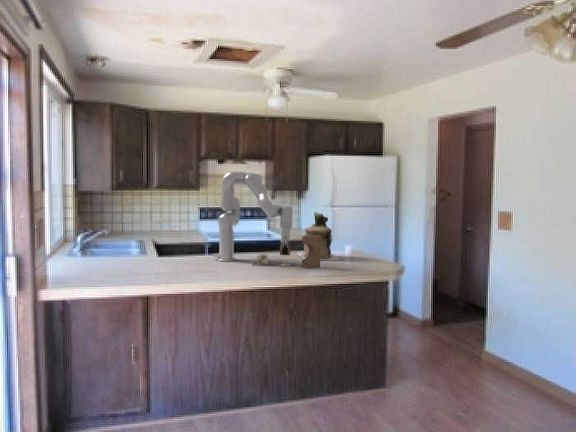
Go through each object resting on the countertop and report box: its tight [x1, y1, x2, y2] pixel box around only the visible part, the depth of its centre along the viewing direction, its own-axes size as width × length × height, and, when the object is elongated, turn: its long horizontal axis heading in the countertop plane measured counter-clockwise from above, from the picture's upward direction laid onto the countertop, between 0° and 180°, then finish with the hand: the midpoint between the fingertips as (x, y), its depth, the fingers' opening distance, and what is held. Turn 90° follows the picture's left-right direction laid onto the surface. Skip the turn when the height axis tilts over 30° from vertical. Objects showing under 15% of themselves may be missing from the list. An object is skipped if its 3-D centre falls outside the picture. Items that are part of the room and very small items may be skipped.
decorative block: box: [301, 235, 321, 269], centre depth 310 cm, size 11×6×20 cm, turn 127°
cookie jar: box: [297, 211, 340, 262], centre depth 344 cm, size 25×25×32 cm
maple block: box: [256, 253, 269, 265], centre depth 317 cm, size 6×6×6 cm
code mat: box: [251, 262, 297, 267], centre depth 318 cm, size 28×12×1 cm, turn 90°
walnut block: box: [279, 243, 291, 256], centre depth 317 cm, size 6×6×6 cm
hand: (285, 252), depth 317 cm, fingers closed on walnut block, 6 cm apart
